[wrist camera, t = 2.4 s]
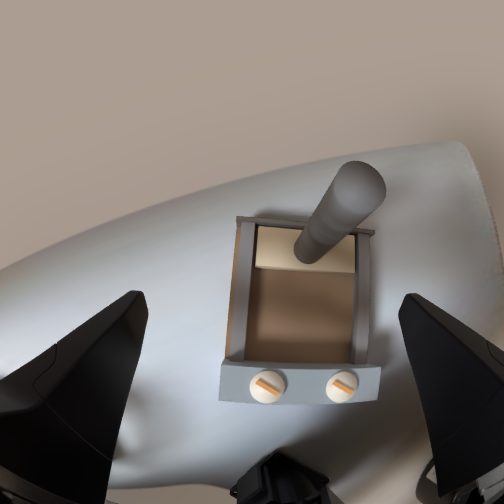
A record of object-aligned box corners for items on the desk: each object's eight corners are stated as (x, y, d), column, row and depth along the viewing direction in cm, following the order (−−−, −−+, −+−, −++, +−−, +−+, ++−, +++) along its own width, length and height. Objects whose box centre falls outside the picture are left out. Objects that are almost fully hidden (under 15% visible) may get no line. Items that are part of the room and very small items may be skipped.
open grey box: (356, 388, 20) (368, 395, 17) (223, 386, 19) (220, 394, 17) (362, 239, 23) (374, 230, 20) (237, 227, 23) (236, 216, 20)
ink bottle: (478, 428, 18) (546, 447, 6) (460, 483, 15) (515, 511, 4) (421, 453, 17) (493, 495, 6) (402, 510, 15) (453, 558, 4)
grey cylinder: (350, 275, 21) (438, 229, 10) (255, 267, 21) (266, 207, 10) (349, 239, 22) (428, 170, 10) (258, 230, 21) (271, 140, 10)
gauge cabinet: (356, 388, 20) (380, 401, 15) (223, 386, 19) (217, 402, 15) (359, 360, 20) (384, 367, 16) (225, 356, 20) (220, 365, 16)
